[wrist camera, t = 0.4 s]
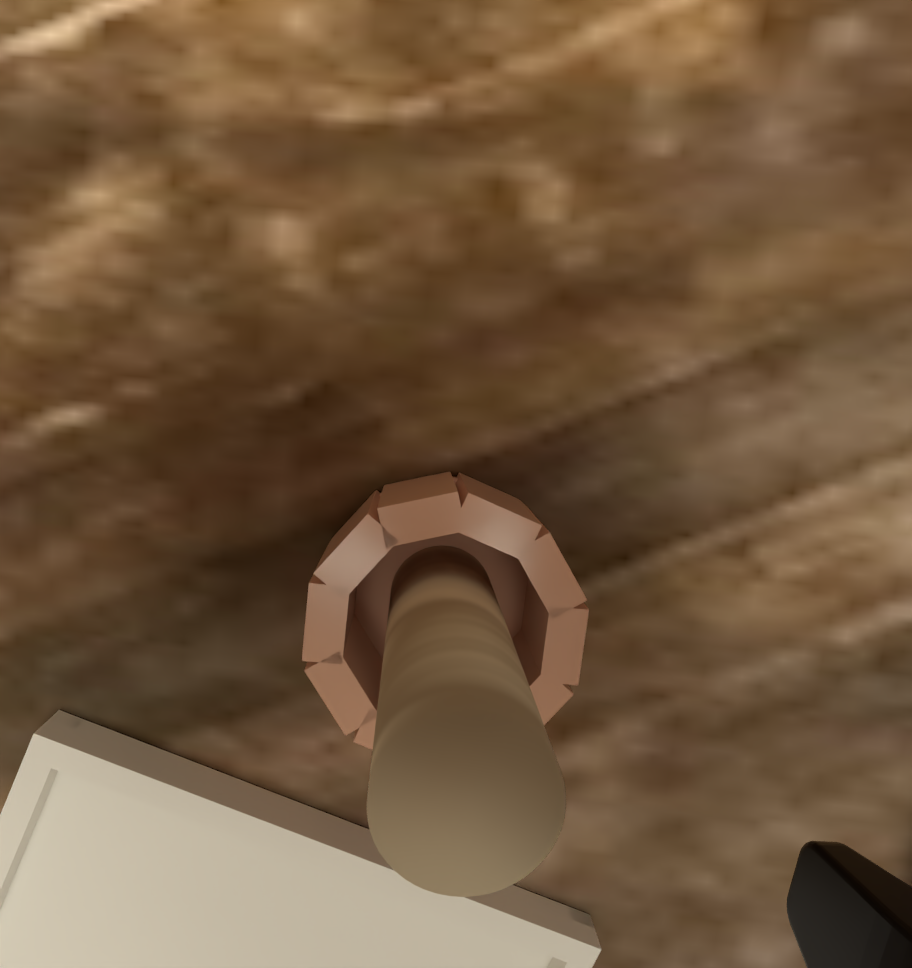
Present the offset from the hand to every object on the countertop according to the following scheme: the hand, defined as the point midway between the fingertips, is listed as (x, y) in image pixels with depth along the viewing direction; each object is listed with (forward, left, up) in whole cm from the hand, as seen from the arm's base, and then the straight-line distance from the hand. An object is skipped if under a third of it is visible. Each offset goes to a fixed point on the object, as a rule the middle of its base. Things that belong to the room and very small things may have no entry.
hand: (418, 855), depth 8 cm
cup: (-1, -1, -14) cm, 14 cm away
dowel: (-1, -1, -14) cm, 14 cm away
